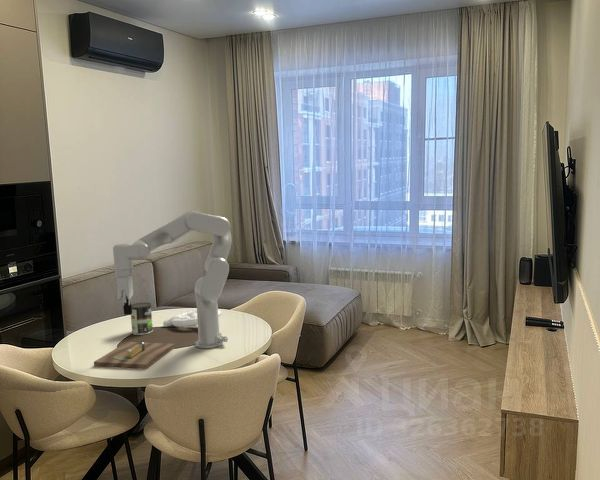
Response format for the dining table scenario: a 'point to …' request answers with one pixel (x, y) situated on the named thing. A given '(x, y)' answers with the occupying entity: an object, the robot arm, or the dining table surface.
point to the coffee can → (141, 319)
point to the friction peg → (135, 349)
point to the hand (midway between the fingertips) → (128, 313)
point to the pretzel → (184, 319)
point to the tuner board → (138, 361)
